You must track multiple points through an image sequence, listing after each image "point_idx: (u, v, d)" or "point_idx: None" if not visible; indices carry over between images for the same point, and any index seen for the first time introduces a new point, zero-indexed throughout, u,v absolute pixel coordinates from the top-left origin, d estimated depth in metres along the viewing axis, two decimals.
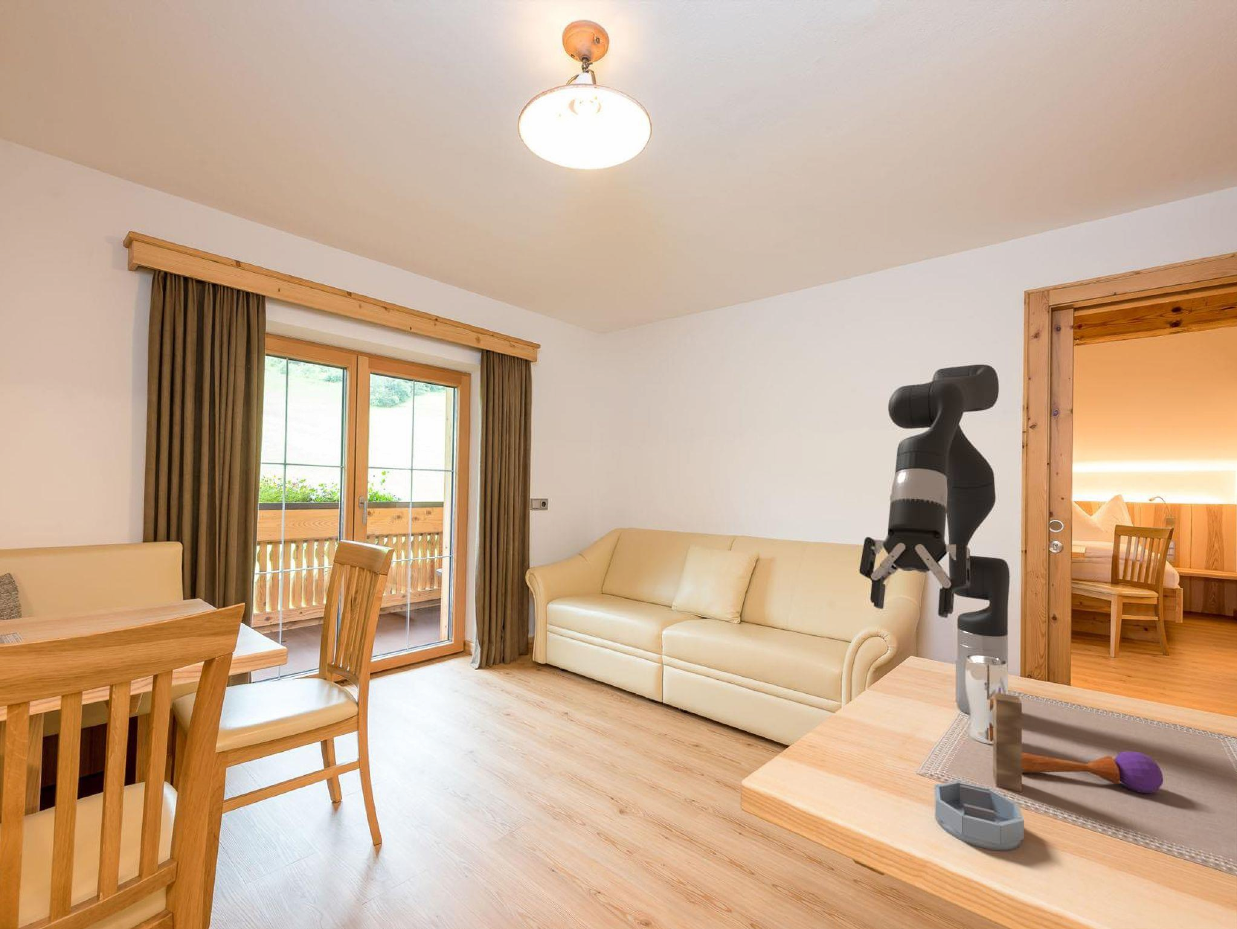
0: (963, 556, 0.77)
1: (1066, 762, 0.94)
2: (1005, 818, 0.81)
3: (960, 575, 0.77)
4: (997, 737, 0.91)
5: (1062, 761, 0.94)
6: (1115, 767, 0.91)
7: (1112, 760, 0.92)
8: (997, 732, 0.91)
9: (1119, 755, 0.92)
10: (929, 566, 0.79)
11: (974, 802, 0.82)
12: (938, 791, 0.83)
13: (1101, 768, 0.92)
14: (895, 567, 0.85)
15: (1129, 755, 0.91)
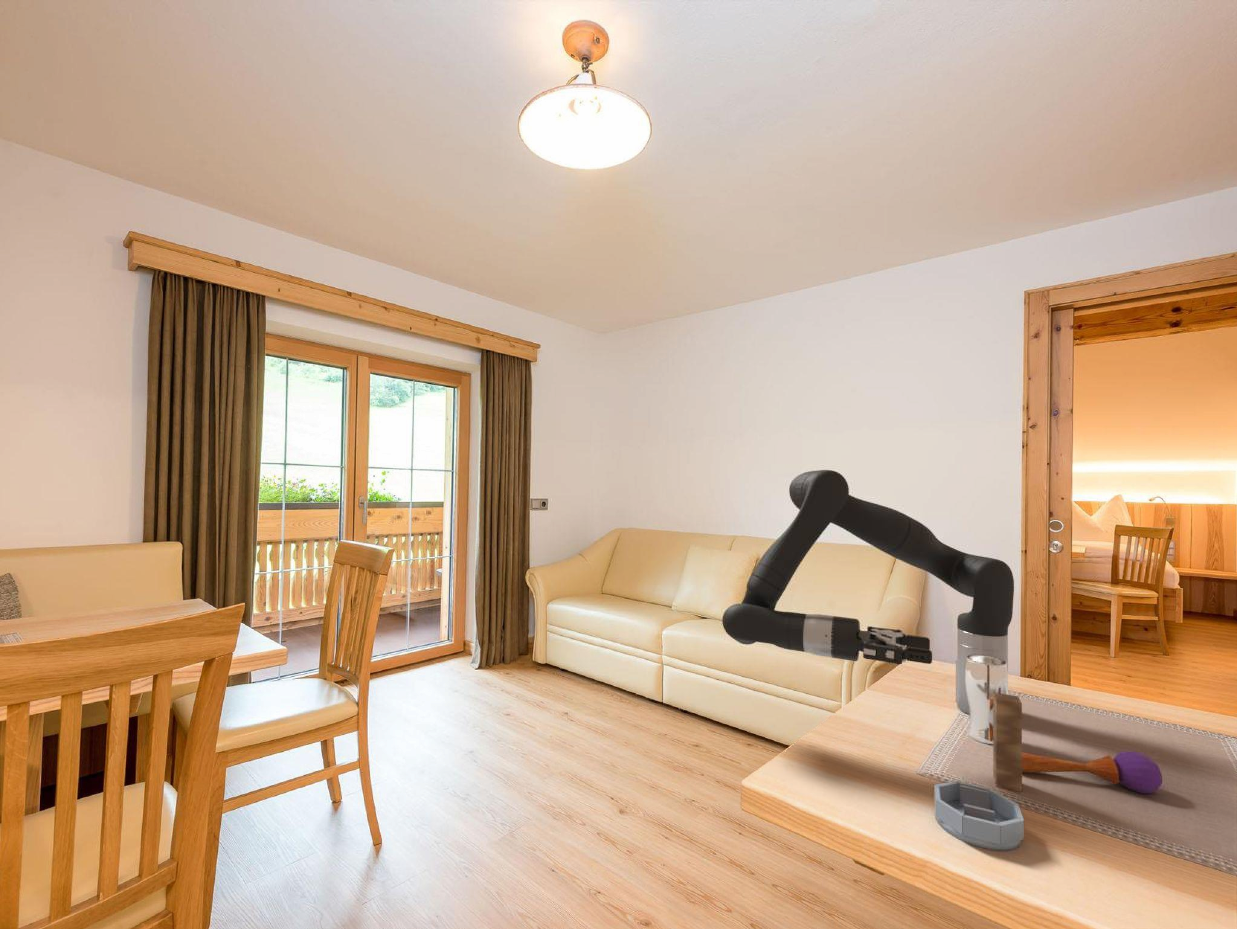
0: None
1: (1065, 762, 0.94)
2: (1005, 818, 0.81)
3: None
4: (997, 737, 0.91)
5: (1061, 761, 0.94)
6: (1114, 767, 0.91)
7: (1111, 760, 0.92)
8: (997, 732, 0.91)
9: (1118, 755, 0.92)
10: None
11: (974, 802, 0.82)
12: (938, 791, 0.83)
13: (1100, 768, 0.92)
14: None
15: (1128, 755, 0.91)
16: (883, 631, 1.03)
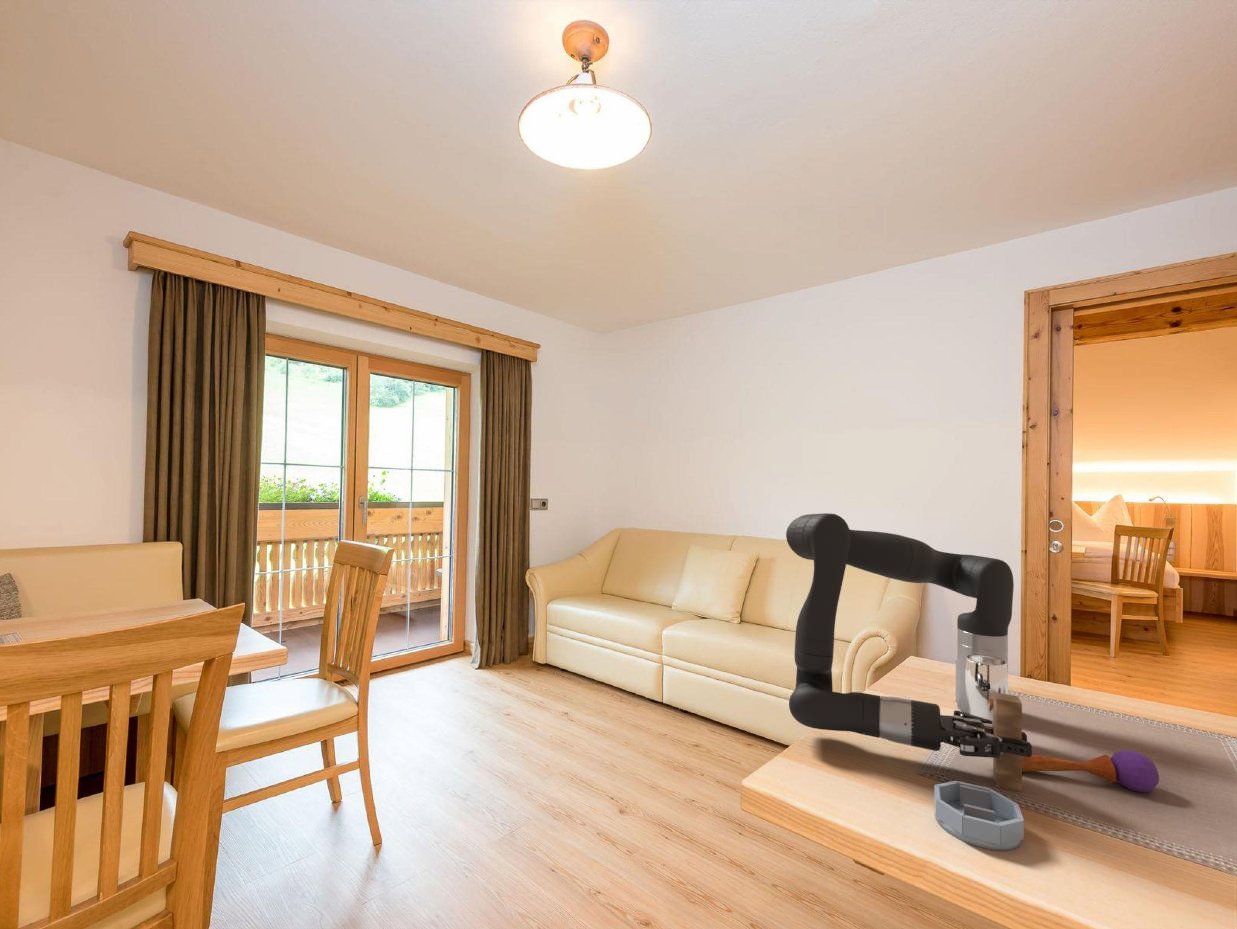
0: None
1: (1063, 761, 0.94)
2: (1005, 818, 0.81)
3: None
4: None
5: (1058, 760, 0.94)
6: (1111, 766, 0.91)
7: (1108, 759, 0.92)
8: (997, 732, 0.91)
9: (1115, 754, 0.93)
10: None
11: (974, 802, 0.82)
12: (938, 791, 0.83)
13: (1097, 767, 0.92)
14: None
15: (1125, 754, 0.91)
16: (968, 720, 0.96)
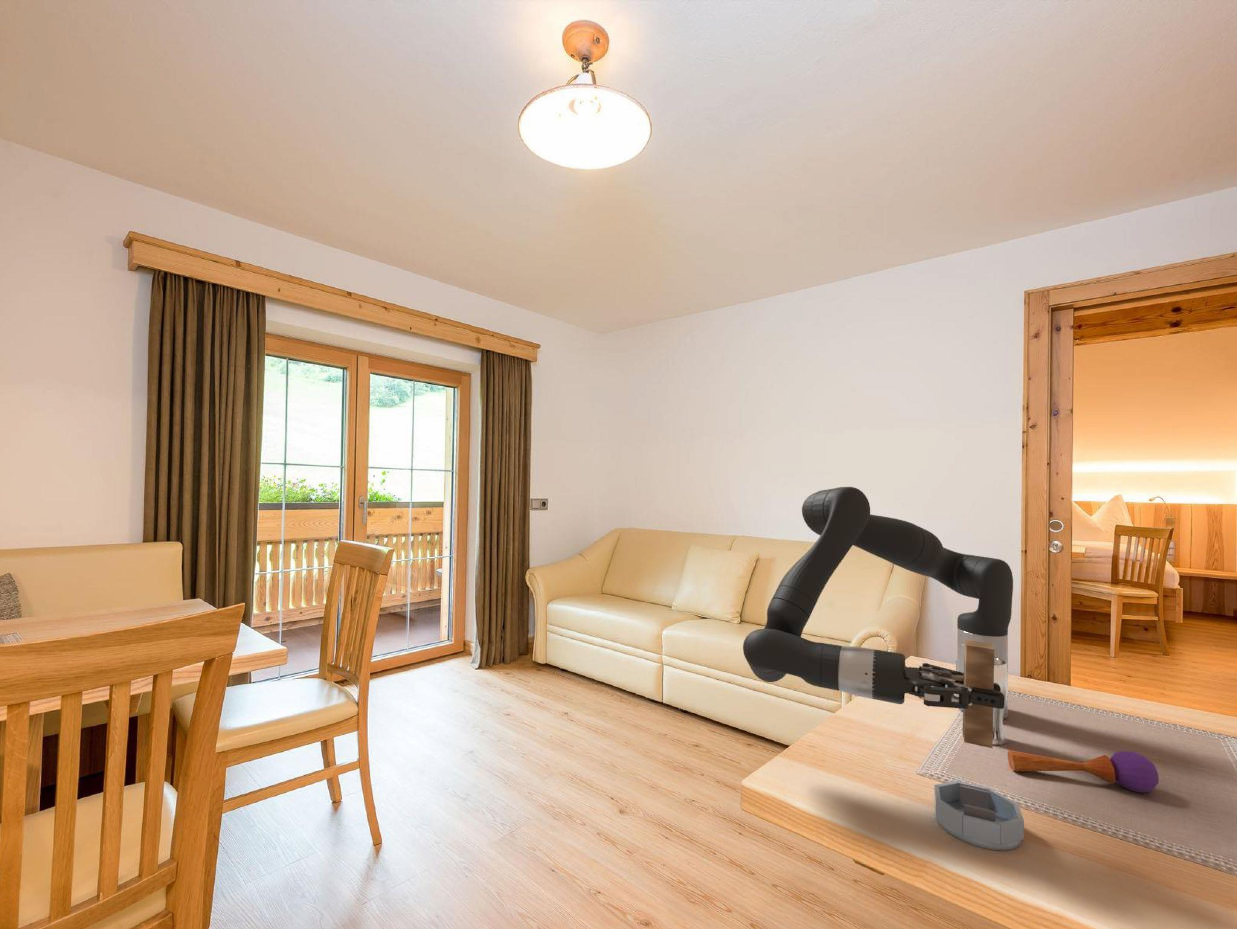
0: None
1: (1062, 761, 0.94)
2: (1005, 818, 0.81)
3: None
4: None
5: (1057, 760, 0.94)
6: (1111, 766, 0.91)
7: (1108, 759, 0.92)
8: (966, 682, 0.82)
9: (1115, 754, 0.93)
10: None
11: (974, 802, 0.82)
12: (938, 791, 0.83)
13: (1096, 767, 0.92)
14: (944, 675, 0.86)
15: (1124, 754, 0.91)
16: (936, 670, 0.86)
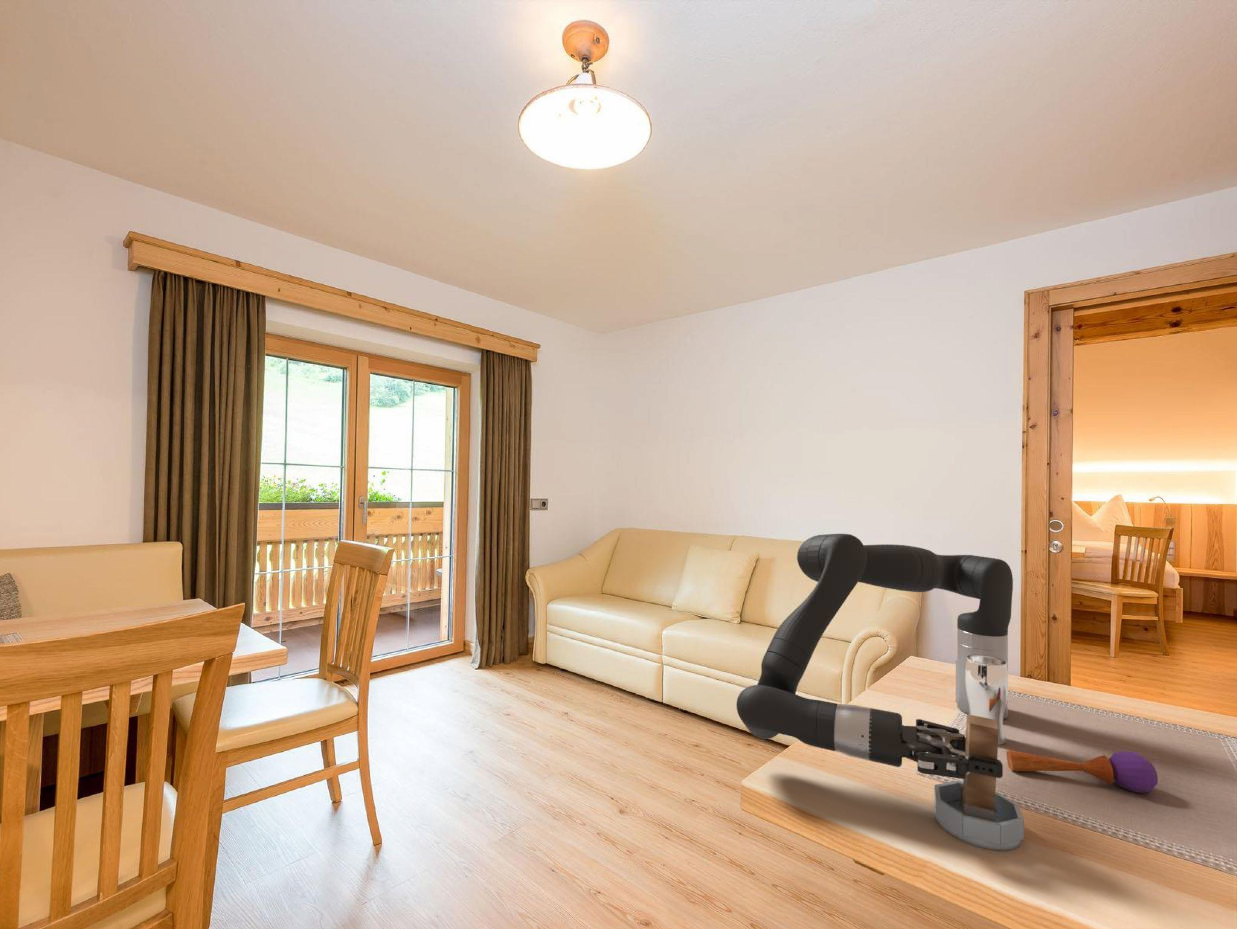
0: None
1: (1060, 761, 0.94)
2: (1005, 818, 0.81)
3: None
4: None
5: (1056, 760, 0.94)
6: (1109, 766, 0.91)
7: (1107, 759, 0.92)
8: None
9: (1114, 755, 0.93)
10: None
11: None
12: (938, 791, 0.83)
13: (1095, 768, 0.92)
14: None
15: (1123, 755, 0.91)
16: (933, 730, 0.84)
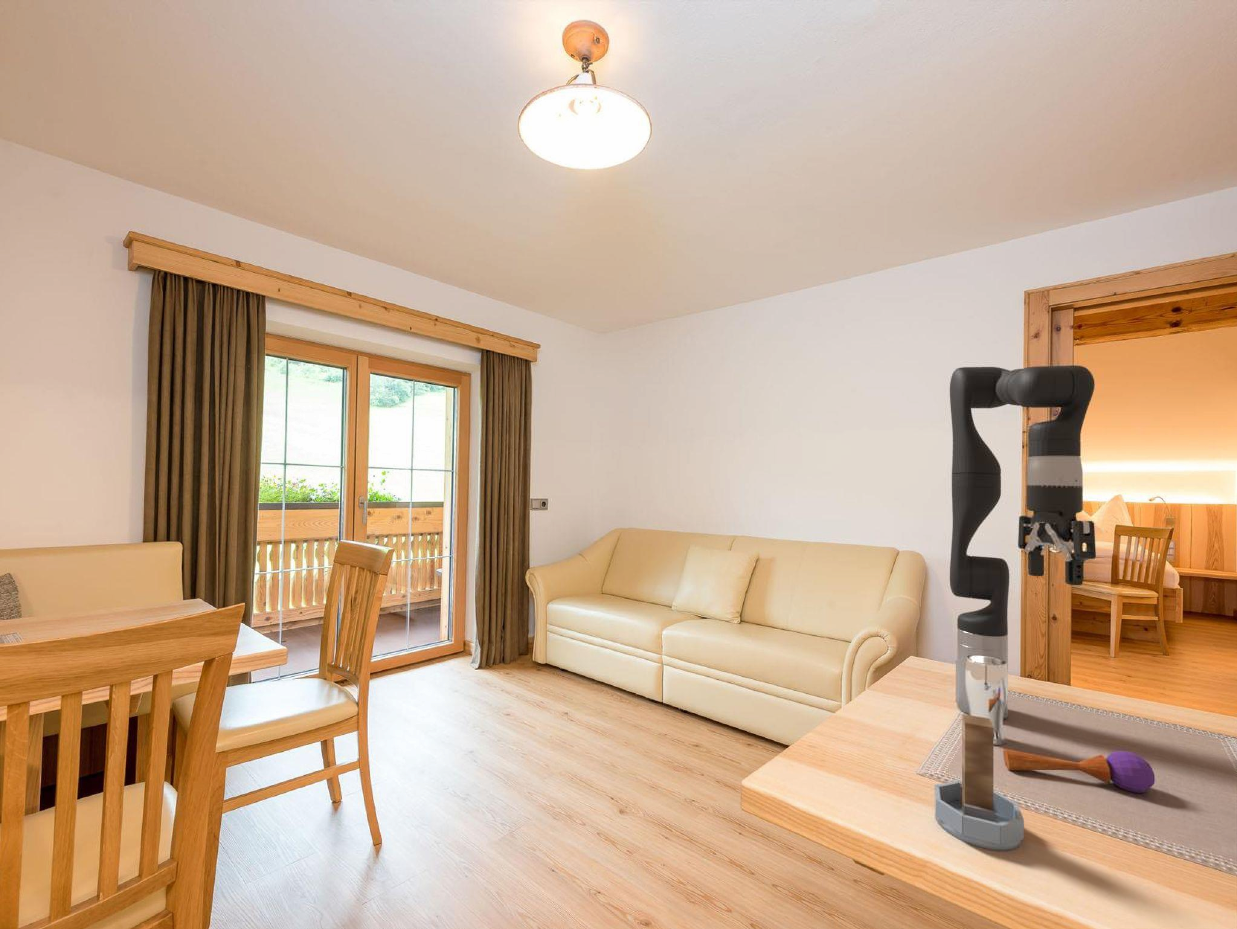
0: (1077, 533, 0.88)
1: (1057, 760, 0.94)
2: (1005, 818, 0.81)
3: (1076, 550, 0.88)
4: (966, 766, 0.79)
5: (1053, 760, 0.94)
6: (1106, 766, 0.91)
7: (1103, 759, 0.92)
8: (966, 760, 0.79)
9: (1111, 754, 0.93)
10: (1055, 542, 0.92)
11: None
12: (938, 791, 0.83)
13: (1092, 767, 0.92)
14: None
15: (1120, 754, 0.91)
16: None
